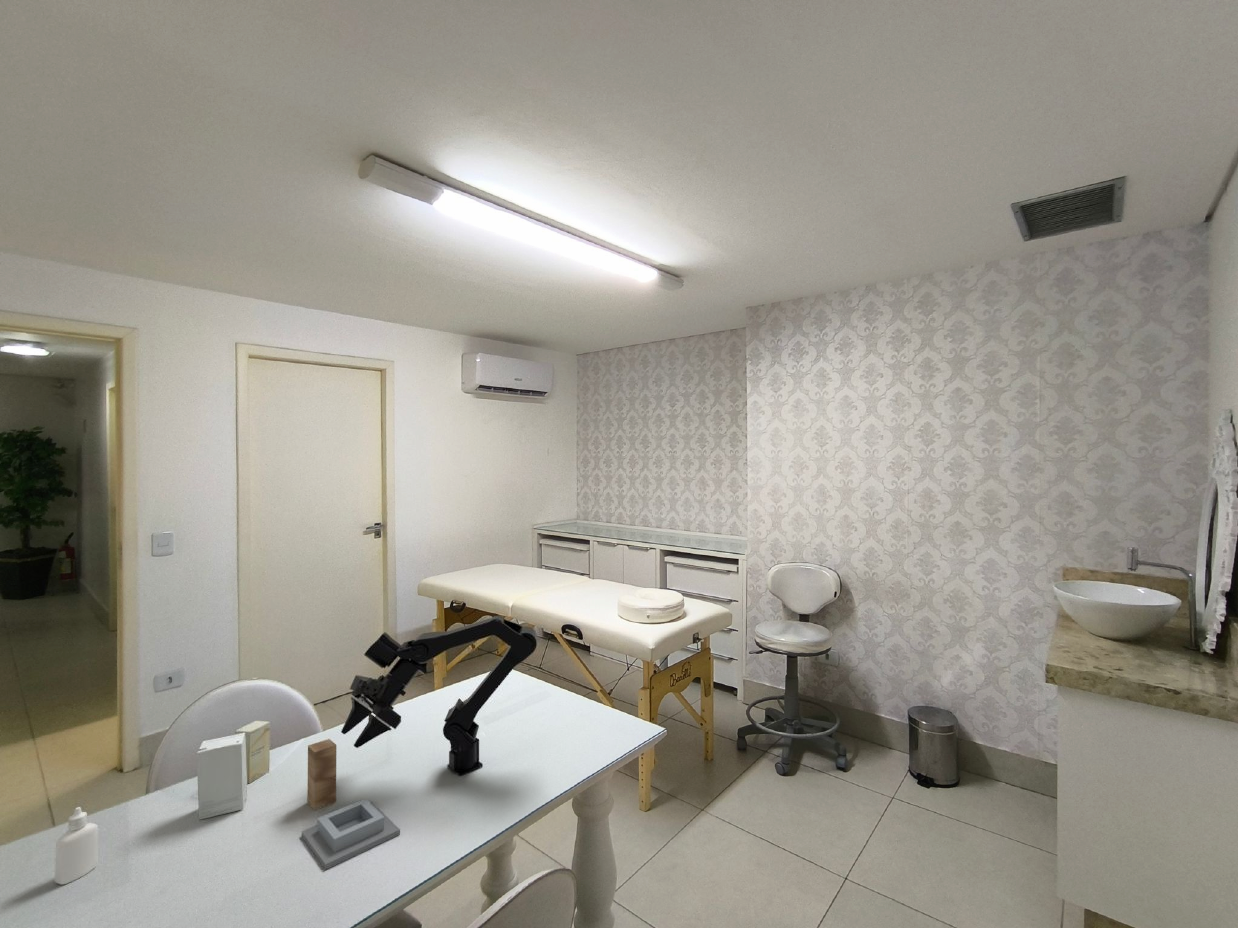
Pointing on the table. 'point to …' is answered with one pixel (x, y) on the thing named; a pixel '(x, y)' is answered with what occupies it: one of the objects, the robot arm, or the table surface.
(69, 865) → the eye dropper bottle
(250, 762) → the skincare box
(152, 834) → the table surface
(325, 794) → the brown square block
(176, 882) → the table surface
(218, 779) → the skincare box
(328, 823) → the housing
